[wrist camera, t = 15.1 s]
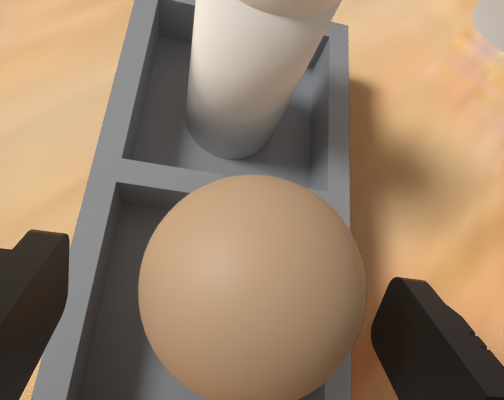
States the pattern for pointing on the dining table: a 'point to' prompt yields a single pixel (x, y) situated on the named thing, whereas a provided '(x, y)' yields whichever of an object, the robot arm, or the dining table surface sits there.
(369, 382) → the dining table surface
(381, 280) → the dining table surface
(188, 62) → the gray divided tray
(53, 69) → the dining table surface
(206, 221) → the tan round-top cylinder
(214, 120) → the white capsule
